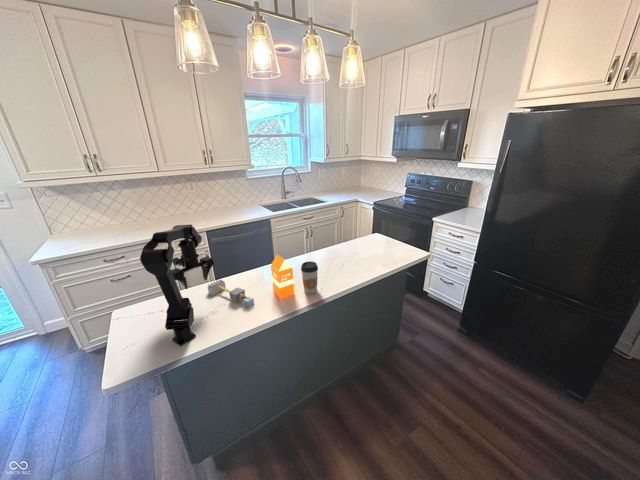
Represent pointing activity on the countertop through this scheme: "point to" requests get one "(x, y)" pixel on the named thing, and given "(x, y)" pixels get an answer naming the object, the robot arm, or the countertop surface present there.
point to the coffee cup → (309, 277)
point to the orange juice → (282, 277)
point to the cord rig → (220, 286)
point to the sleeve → (236, 294)
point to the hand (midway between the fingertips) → (196, 284)
